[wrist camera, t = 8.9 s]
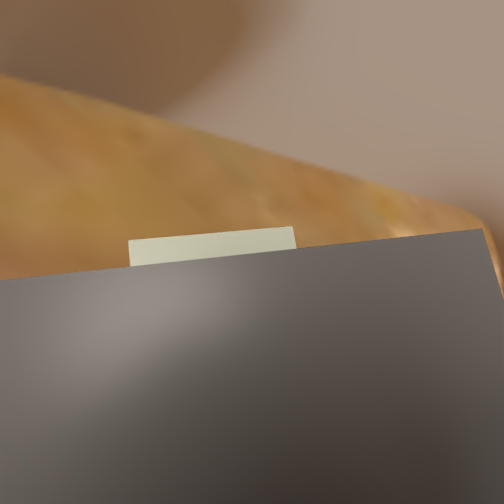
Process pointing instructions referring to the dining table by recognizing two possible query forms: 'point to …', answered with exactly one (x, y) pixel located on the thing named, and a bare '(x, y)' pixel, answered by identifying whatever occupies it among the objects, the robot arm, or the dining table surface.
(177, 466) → the block
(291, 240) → the board
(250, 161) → the dining table surface
